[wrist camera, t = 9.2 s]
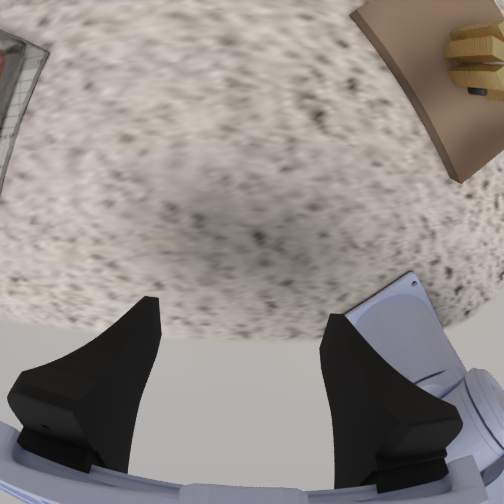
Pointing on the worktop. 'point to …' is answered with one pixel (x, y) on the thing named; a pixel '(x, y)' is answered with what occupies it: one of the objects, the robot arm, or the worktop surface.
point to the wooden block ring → (478, 57)
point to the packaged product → (15, 89)
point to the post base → (438, 75)
